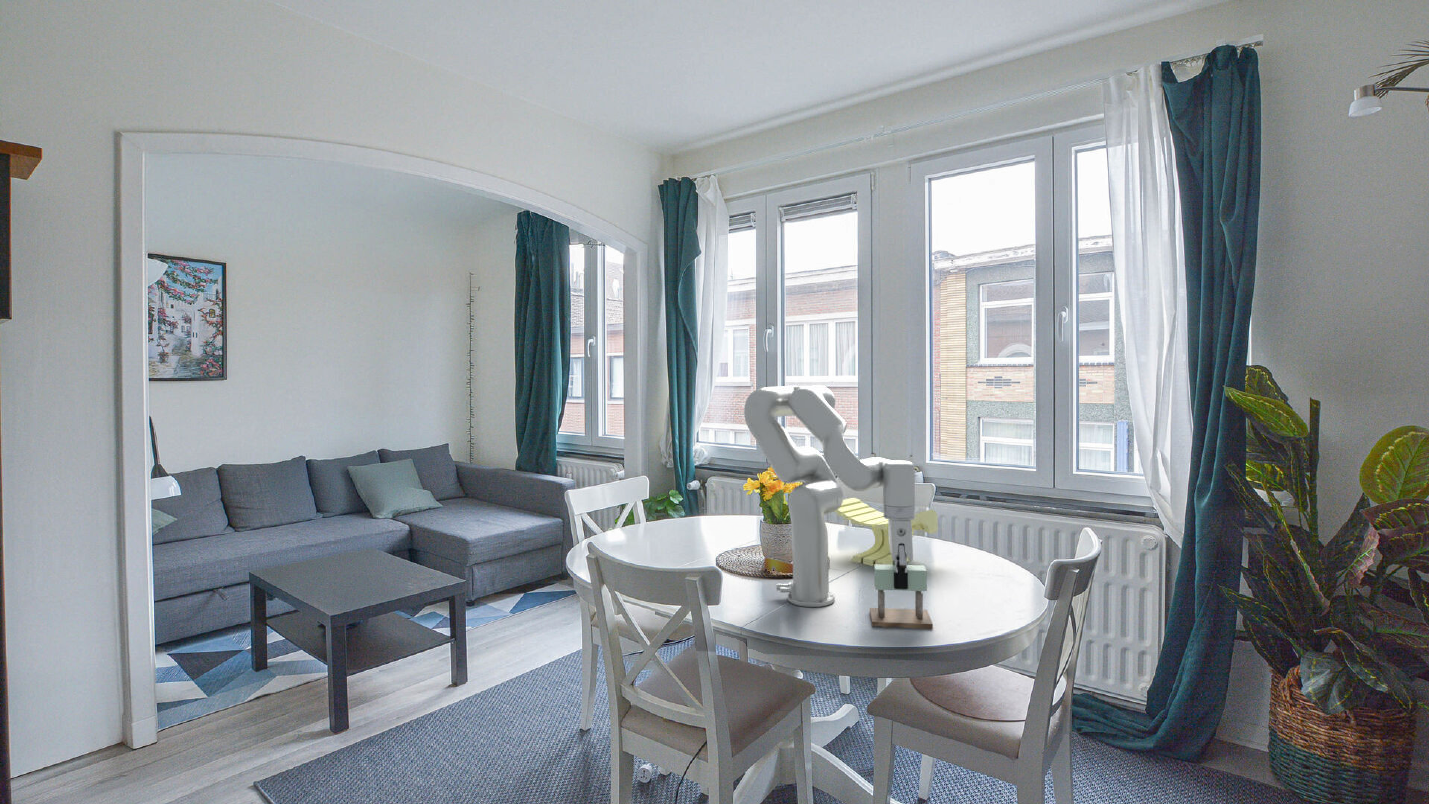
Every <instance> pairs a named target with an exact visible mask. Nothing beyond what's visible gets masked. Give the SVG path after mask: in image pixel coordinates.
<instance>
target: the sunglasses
mask: <svg viewBox="0 0 1429 804" xmlns="http://www.w3.org/2000/svg"><path fill="white" fill-rule="evenodd" d="M773 558H774V557H769V556H766V557H765V556H764V559H763V562H764V568H767V569H768V570H770V571H774V572H776V573H777V572H782V573H793V562H787V561H782V560H778V559H773Z"/></svg>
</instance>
